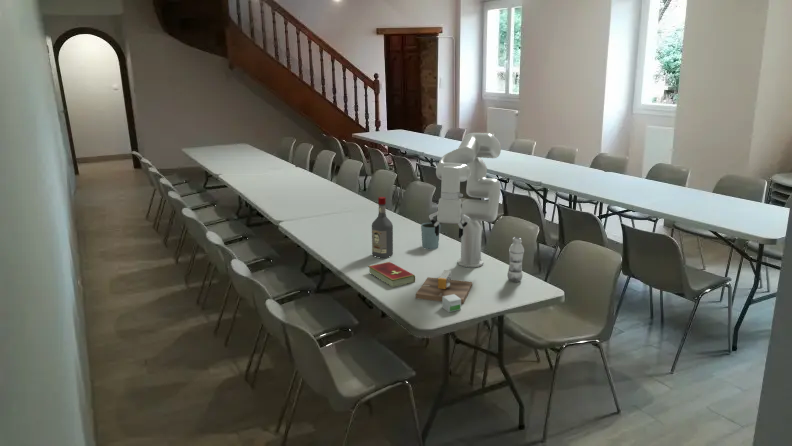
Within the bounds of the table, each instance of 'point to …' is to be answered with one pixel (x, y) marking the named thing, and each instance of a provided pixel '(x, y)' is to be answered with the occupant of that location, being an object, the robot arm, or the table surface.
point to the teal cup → (429, 236)
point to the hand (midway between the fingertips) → (448, 236)
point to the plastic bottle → (515, 260)
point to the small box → (451, 303)
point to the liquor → (382, 233)
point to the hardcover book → (391, 274)
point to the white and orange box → (444, 280)
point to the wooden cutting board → (443, 290)
